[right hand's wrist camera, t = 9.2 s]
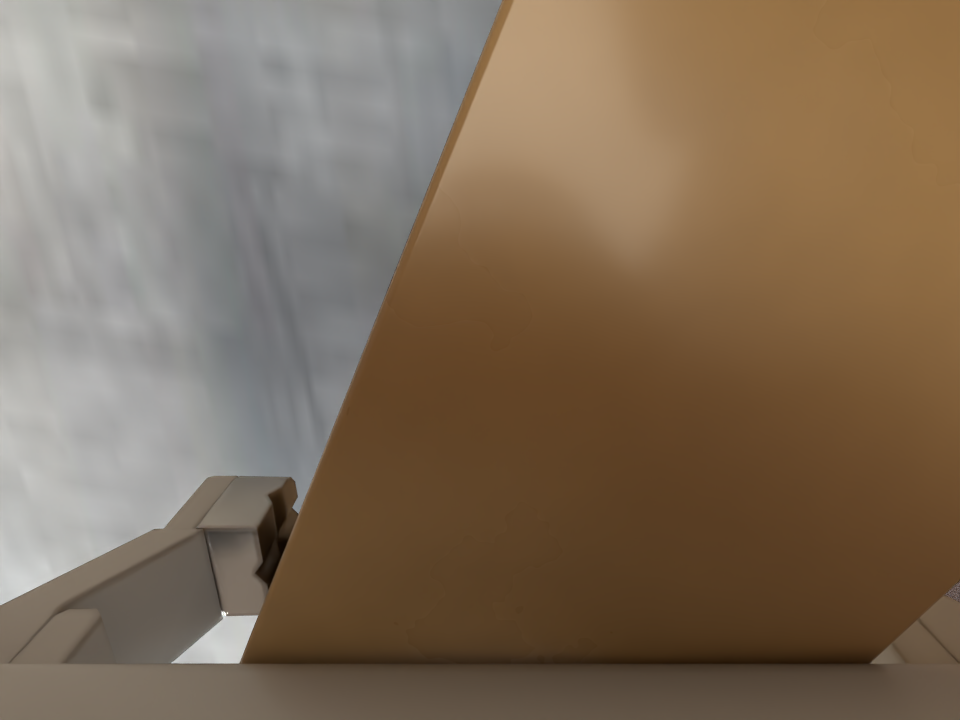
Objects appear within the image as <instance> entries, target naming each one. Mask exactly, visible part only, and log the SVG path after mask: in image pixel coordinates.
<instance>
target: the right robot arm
mask: <svg viewBox="0 0 960 720" xmlns="http://www.w3.org/2000/svg"><path fill="white" fill-rule="evenodd" d="M297 497H298V495H297V490H296V484H295V481H294V480H293V479H292V478H291V477H264V476H239V477H238V476H212V477H208V478H207V479H206V480H205V481H204V482H203V483H202V485H201V486H200V487H199V488H198V489H197V490H196V492H195V493H194V494H193V495H192V496H191V497H190V499H189V500H188V501H187V502H186V503H185V504H184V506H183V507H182V508H181V509H180V510H179V511H178V513H177V514H176V515H175V516H174V517H173V518H172V520H171V521H170V522H169V523H168V524H167V525H166V527H165V528H164V529H154V530H152V531H150V532H148V533H146V534H144V535H142V536H140V537H138V538H136V539H134V540H132V541H130V542H127V543H125V544H123V545H121V546H119V547H117V548H115V549H113V550H111V551H109V552H107V553H105V554H103V555H101V556H99V557H97V558H95V559H93V560H91V561H89V562H87V563H85V564H83V565H81V566H79V567H77V568H75V569H73V570H71V571H69V572H67V573H65V574H63V575H61V576H59V577H57V578H55V579H53V580H51V581H49V582H47V583H45V584H43V585H41V586H39V587H37V588H35V589H33V590H31V591H29V592H27V593H25V594H23V595H21V596H19V597H17V598H15V599H13V600H11V601H9V602H7V603H5V604H3V605H1V606H0V720H960V602H958V601H956V600H954V599H952V598H950V597H948V596H946V595H944V596H943V597H942V598H940V599H939V600H938V601H937V602H936V603H935V604H934V605H933V606H932V607H931V608H930V609H929V610H927V611H926V612H925V613H924V614H923V615H922V616H921V617H920V618H919V619H918V620H917V621H915V622H914V623H913V624H912V625H911V626H910V627H909V628H908V629H907V630H906V631H905V632H904V633H902V634H901V635H900V636H899V637H898V638H897V639H896V640H895V641H894V642H893V643H892V644H890V645H889V646H888V647H887V648H886V649H885V650H884V651H883V652H882V653H881V654H880V655H879V656H877V657H876V658H875V659H874V660H873V661H872V662H871V663H870V664H170V663H172V662H173V661H174V660H175V659H176V658H177V657H179V656H180V655H181V654H182V653H183V652H185V651H186V650H187V649H188V648H189V647H190V646H192V645H193V644H194V643H195V642H196V641H197V640H199V639H200V638H201V637H202V636H203V635H204V634H206V633H207V632H208V631H209V630H210V629H211V628H213V627H214V626H215V625H216V624H217V623H218V622H220V621H221V620H222V619H223V617H222V616H244V615H259V613H260V610H261V608H262V605H263V603H264V600H265V598H266V595H267V593H268V590H269V588H270V585H271V583H272V580H273V578H274V575H275V573H276V570H277V567H278V565H279V562H280V560H281V557H282V555H283V552H284V550H285V547H286V545H287V542H288V540H289V537H290V535H291V532H292V530H293V527H294V525H295V522H296V520H297V517H298V515H299V514H298V513H297V512H296V511H295V510H294V509H293V508H292V507H293V505H294V503H295V501H296V499H297Z"/></svg>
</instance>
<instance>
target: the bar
mask: <svg viewBox="0 0 960 720" xmlns="http://www.w3.org/2000/svg"><path fill="white" fill-rule="evenodd" d="M959 581H960V0H502V3H501V5H500V8H499V10H498V13H497V15H496V18H495V20H494V23H493V25H492V28H491V30H490V33H489V35H488V38H487V40H486V43H485V45H484V48H483V51H482V53H481V56H480V58H479V61H478V63H477V66H476V68H475V71H474V73H473V76H472V78H471V81H470V83H469V86H468V88H467V91H466V93H465V96H464V98H463V101H462V103H461V106H460V109H459V111H458V114H457V116H456V119H455V121H454V124H453V126H452V129H451V131H450V134H449V136H448V139H447V141H446V144H445V146H444V149H443V151H442V154H441V156H440V159H439V161H438V164H437V167H436V169H435V172H434V174H433V177H432V179H431V182H430V184H429V187H428V189H427V192H426V194H425V197H424V199H423V202H422V204H421V207H420V209H419V212H418V214H417V217H416V219H415V222H414V225H413V227H412V230H411V232H410V235H409V237H408V240H407V242H406V245H405V247H404V250H403V252H402V255H401V257H400V260H399V262H398V265H397V267H396V270H395V272H394V275H393V277H392V280H391V283H390V285H389V288H388V290H387V293H386V295H385V298H384V300H383V303H382V305H381V308H380V310H379V313H378V315H377V318H376V320H375V323H374V325H373V328H372V330H371V333H370V335H369V338H368V341H367V343H366V346H365V348H364V351H363V353H362V356H361V358H360V361H359V363H358V366H357V368H356V371H355V373H354V376H353V378H352V381H351V383H350V386H349V388H348V391H347V393H346V396H345V399H344V401H343V404H342V406H341V409H340V411H339V414H338V416H337V419H336V421H335V424H334V426H333V429H332V431H331V434H330V436H329V439H328V441H327V444H326V446H325V449H324V451H323V454H322V457H321V459H320V462H319V464H318V467H317V469H316V472H315V474H314V477H313V479H312V482H311V484H310V487H309V489H308V492H307V494H306V497H305V499H304V502H303V504H302V507H301V509H300V512H299V515H298V517H297V520H296V522H295V525H294V527H293V530H292V532H291V535H290V537H289V540H288V542H287V545H286V547H285V550H284V552H283V555H282V557H281V560H280V562H279V565H278V567H277V570H276V573H275V575H274V578H273V580H272V583H271V585H270V588H269V590H268V593H267V595H266V598H265V600H264V603H263V605H262V608H261V610H260V613H259V615H258V618H257V620H256V623H255V625H254V628H253V631H252V633H251V636H250V638H249V641H248V643H247V646H246V648H245V651H244V653H243V656H242V658H241V661H240V663H239V664H870V663H871V662H872V661H873V660H874V659H875V658H876V657H877V656H879V655H880V654H881V653H882V652H883V651H884V650H885V649H886V648H887V647H888V646H889V645H890V644H892V643H893V642H894V641H895V640H896V639H897V638H898V637H899V636H900V635H901V634H902V633H904V632H905V631H906V630H907V629H908V628H909V627H910V626H911V625H912V624H913V623H914V622H915V621H917V620H918V619H919V618H920V617H921V616H922V615H923V614H924V613H925V612H926V611H927V610H929V609H930V608H931V607H932V606H933V605H934V604H935V603H936V602H937V601H938V600H939V599H940V598H942V597H943V596H944V595H945V594H946V593H947V592H948V591H949V590H950V589H951V588H952V587H954V586H955V585H956V584H957V583H958V582H959Z"/></svg>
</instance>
